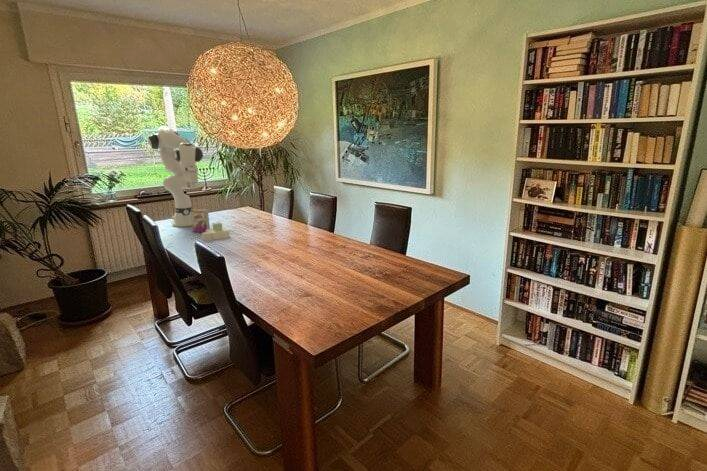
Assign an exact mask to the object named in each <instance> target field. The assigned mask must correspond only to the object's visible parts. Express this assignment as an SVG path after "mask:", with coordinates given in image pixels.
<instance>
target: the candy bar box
mask: <svg viewBox="0 0 707 471" xmlns="http://www.w3.org/2000/svg"><path fill="white" fill-rule="evenodd" d="M191 218H192V225H191V227H192V233H204V232H206V230H208V229H211V228H210V226H211V225H210V217H209V209H198V208H197V209H193V208H192V210H191Z"/></svg>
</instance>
